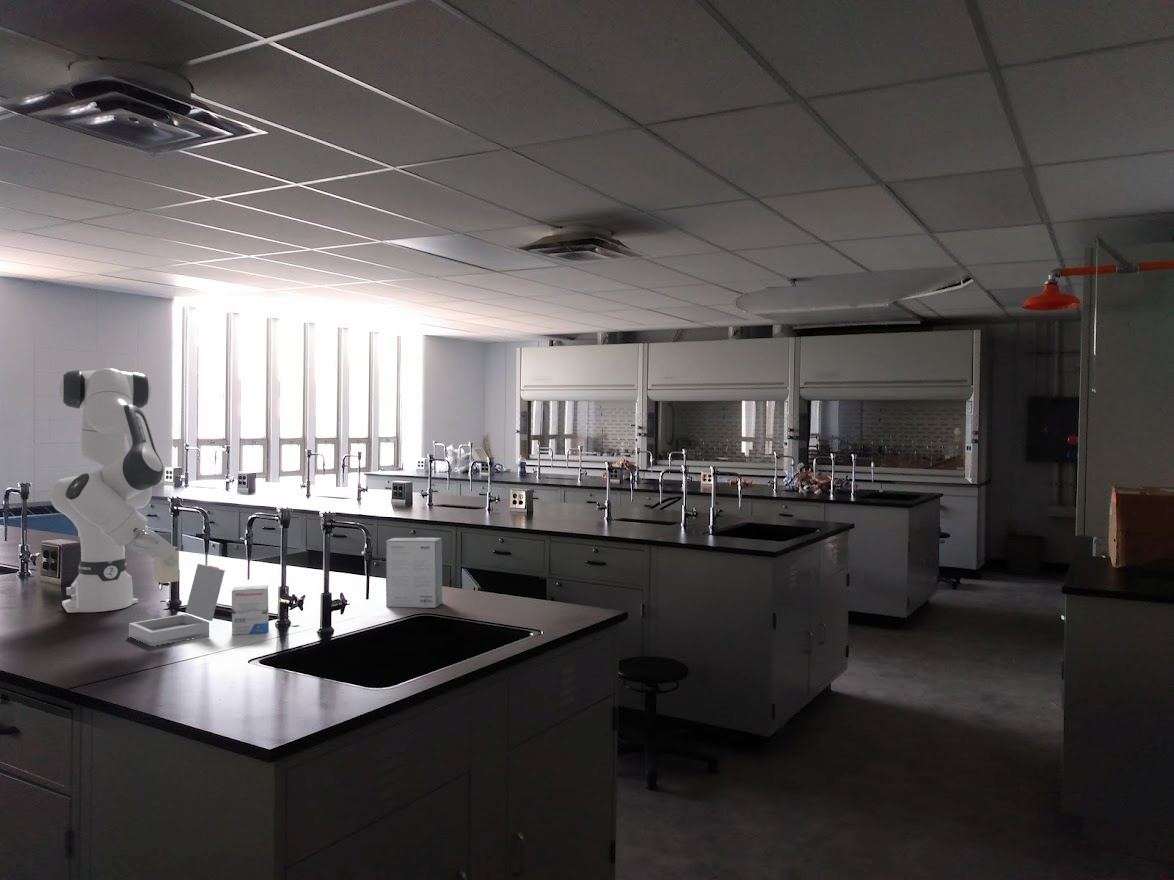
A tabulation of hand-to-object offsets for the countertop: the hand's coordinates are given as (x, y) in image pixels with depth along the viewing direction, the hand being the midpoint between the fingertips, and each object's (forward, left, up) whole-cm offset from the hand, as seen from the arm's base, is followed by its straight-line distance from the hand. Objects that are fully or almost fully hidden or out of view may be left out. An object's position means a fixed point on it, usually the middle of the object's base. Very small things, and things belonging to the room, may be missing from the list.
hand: (169, 562), depth 209 cm
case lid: (0, +9, -9) cm, 12 cm away
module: (0, -1, -5) cm, 5 cm away
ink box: (+11, +16, -19) cm, 27 cm away
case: (0, 0, -19) cm, 19 cm away
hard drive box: (+17, +64, -19) cm, 69 cm away
